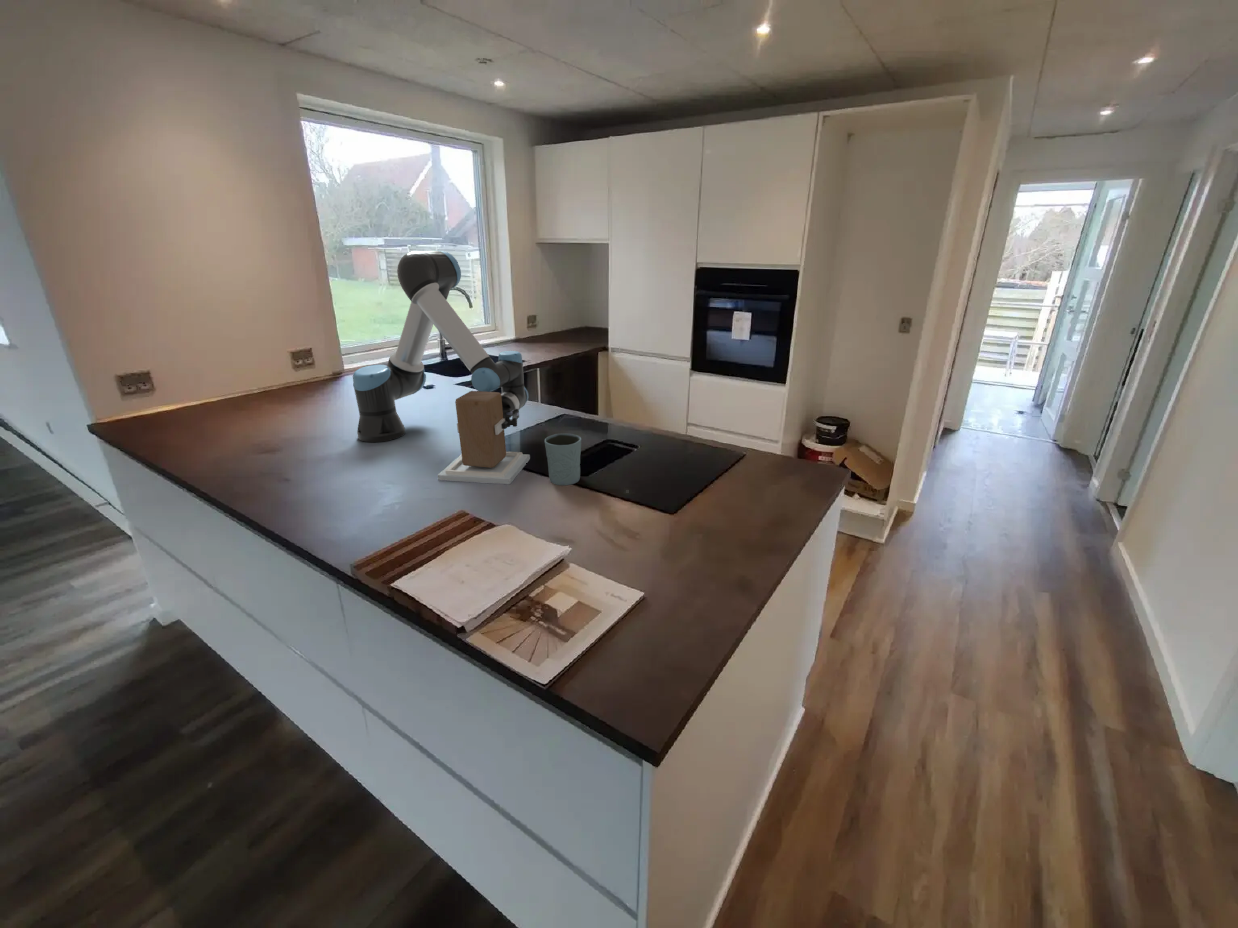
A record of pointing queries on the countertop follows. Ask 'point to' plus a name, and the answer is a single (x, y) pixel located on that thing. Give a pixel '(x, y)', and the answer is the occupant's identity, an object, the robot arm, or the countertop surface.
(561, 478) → the teal cup
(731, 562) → the countertop surface
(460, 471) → the baseplate
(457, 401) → the wooden block
